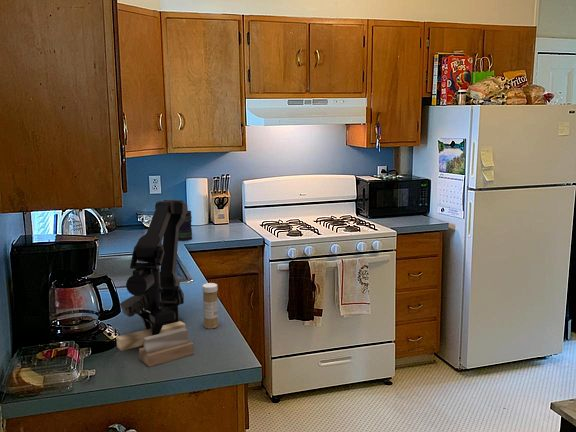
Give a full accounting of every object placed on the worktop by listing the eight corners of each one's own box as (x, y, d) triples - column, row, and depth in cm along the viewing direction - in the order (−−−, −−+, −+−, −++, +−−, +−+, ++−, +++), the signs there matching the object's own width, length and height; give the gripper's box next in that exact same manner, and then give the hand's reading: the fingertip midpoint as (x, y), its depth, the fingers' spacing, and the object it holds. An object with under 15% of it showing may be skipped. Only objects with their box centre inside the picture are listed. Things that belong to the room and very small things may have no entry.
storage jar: (195, 239, 302) (194, 212, 299) (177, 242, 297) (176, 213, 294) (188, 236, 310) (187, 209, 308) (170, 238, 305) (169, 211, 302)
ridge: (139, 359, 151) (138, 336, 150) (183, 347, 159) (182, 325, 158) (149, 366, 146) (148, 343, 145) (193, 354, 154) (192, 331, 153)
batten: (121, 351, 157) (120, 340, 156) (117, 348, 159) (116, 336, 158) (185, 335, 169) (185, 323, 168) (181, 332, 171) (180, 321, 171)
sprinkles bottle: (212, 322, 178) (210, 281, 176) (221, 326, 175) (220, 284, 173) (200, 326, 175) (199, 284, 173) (209, 330, 172) (208, 287, 169)
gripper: (109, 283, 163) (112, 334, 166) (137, 298, 149) (139, 354, 152) (146, 276, 170) (148, 325, 173) (175, 290, 156) (177, 344, 159)
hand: (152, 337), depth 164 cm, fingers closed on batten, 3 cm apart
